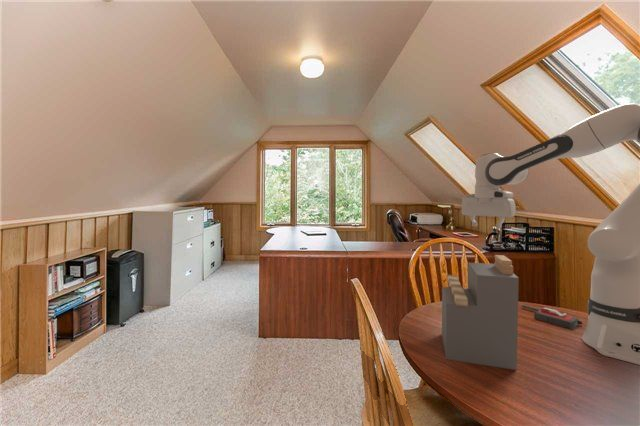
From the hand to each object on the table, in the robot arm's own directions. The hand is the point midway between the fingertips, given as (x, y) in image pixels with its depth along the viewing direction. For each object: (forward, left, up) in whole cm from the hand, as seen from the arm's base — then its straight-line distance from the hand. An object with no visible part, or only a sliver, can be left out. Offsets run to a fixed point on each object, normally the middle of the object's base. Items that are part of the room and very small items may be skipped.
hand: (486, 227), depth 119 cm
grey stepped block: (-14, +35, -35) cm, 51 cm away
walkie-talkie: (-18, -11, -36) cm, 41 cm away
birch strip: (-7, +35, -18) cm, 40 cm away
